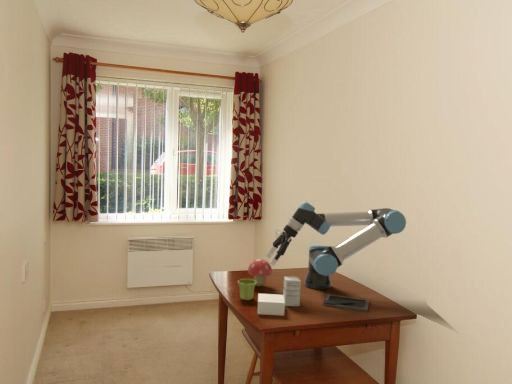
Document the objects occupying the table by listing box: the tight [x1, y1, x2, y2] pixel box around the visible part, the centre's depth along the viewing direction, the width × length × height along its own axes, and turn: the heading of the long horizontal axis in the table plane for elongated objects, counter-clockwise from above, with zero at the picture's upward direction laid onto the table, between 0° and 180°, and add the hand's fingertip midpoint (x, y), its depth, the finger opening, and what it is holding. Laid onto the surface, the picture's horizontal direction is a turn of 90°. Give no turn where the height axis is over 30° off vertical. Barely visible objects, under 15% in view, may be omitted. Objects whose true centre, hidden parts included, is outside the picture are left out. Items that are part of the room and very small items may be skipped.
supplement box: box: [282, 275, 302, 307], centre depth 206 cm, size 7×7×13 cm
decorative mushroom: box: [247, 258, 273, 287], centre depth 232 cm, size 13×13×15 cm
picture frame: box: [322, 293, 370, 313], centre depth 211 cm, size 16×2×21 cm
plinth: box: [257, 292, 286, 317], centre depth 196 cm, size 12×12×6 cm
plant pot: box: [237, 278, 256, 301], centre depth 211 cm, size 9×9×9 cm
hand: (269, 260), depth 225 cm, fingers open, 13 cm apart
